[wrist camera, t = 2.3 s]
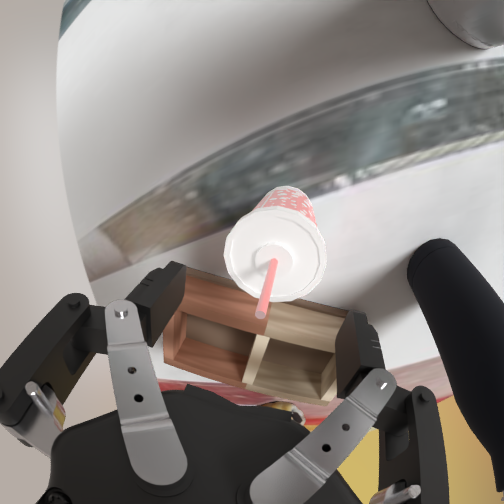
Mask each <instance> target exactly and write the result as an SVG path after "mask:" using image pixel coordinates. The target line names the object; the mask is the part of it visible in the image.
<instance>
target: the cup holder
mask: <svg viewBox="0 0 504 504" xmlns="http://www.w3.org/2000/svg"><path fill="white" fill-rule="evenodd" d="M258 302H259V298H255V297H253V296H252V295H250V294H249V293H247V292H246V291H244V290H243V289H241V288H240V287H238V285H237V284H236V283H235V281H233V280H230V279H226V278H223V277H219V276H216V275H212V274H209V273H206V272H202V271H199V270H196V269H192V268H189V267H187V270H186V282H185V293H184V297H183V300H182V302H181V304H180V305H179V307H178V308H177V310H176V312H175V313H174V315H173V316H172V318H171V319H170V321H169V322H168V324H167V325H166V327H165V329H164V330H163V351H164V363H166V364H169V365H171V366H174V367H177V368H180V369H182V370H185V371H188V372H191V373H194V374H197V375H200V376H203V377H206V378H209V379H212V380H215V381H219V382H222V383H225V384H229V385H232V386H236V387H239V388H243V389H247V390H251V391H254V392H258V393H262V394H267V395H271V396H275V397H279V398H284V399H289V400H294V401H299V402H304V403H309V404H315V405H321V406H327V405H328V404H329V402H330V401H331V400H332V399H333V397H334V396H335V395H336V394H337V380H336V357H335V340H336V336H337V333H338V331H339V329H340V327H341V326H342V324H343V322H344V320H345V318H346V316H347V314H348V312H349V311H346V310H342V309H338V308H334V307H330V306H326V305H322V304H318V303H314V302H310V301H306V300H303V299H299V298H297V299H295V300H293V301H285V302H270V301H269V304H268V308H267V312H266V316H265V318H264V319H258V318H257V317H256V316H255V312H256V309H257V305H258Z"/></svg>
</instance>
